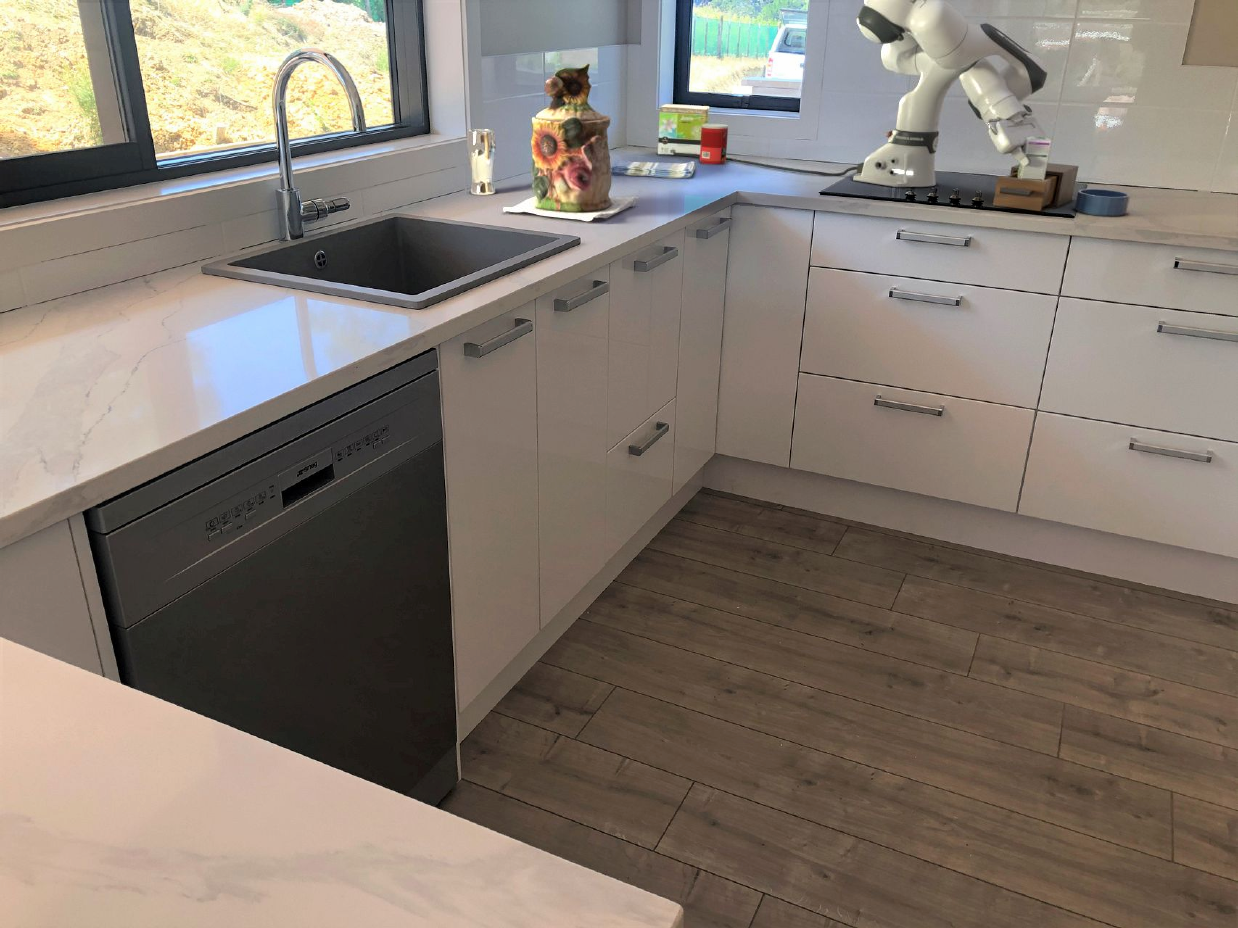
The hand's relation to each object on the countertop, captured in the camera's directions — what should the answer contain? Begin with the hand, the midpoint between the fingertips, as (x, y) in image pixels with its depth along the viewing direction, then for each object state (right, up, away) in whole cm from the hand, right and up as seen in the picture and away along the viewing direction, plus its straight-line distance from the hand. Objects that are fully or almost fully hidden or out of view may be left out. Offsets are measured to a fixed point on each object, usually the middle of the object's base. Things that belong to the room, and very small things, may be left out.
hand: (1036, 163), depth 246 cm
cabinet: (+6, -6, +13) cm, 16 cm away
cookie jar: (-113, -14, -11) cm, 114 cm away
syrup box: (-1, -8, +4) cm, 9 cm away
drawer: (-3, -10, +2) cm, 10 cm away
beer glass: (-136, -5, +8) cm, 136 cm away
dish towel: (-92, +10, +43) cm, 102 cm away
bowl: (+16, -12, +1) cm, 20 cm away
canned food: (-73, +19, +63) cm, 99 cm away
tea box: (-81, +26, +79) cm, 117 cm away
